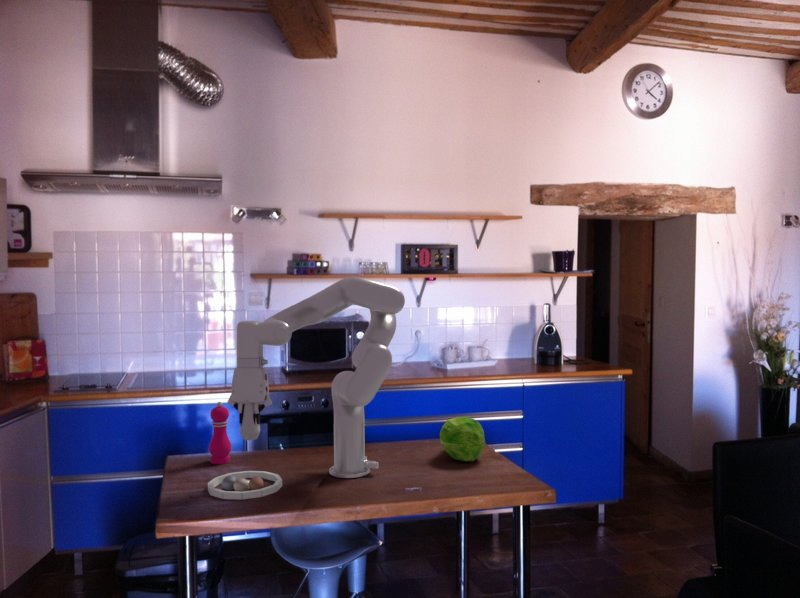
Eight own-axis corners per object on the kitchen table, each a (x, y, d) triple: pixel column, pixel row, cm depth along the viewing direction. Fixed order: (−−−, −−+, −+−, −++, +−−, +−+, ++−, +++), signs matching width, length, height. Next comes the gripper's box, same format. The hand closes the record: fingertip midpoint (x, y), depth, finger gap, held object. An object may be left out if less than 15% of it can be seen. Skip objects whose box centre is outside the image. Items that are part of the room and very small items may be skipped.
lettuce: (428, 457, 228) (470, 461, 231) (444, 459, 207) (490, 464, 209) (432, 415, 231) (473, 419, 234) (447, 413, 210) (492, 417, 212)
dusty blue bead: (236, 492, 183) (237, 478, 186) (235, 486, 180) (236, 473, 183) (222, 493, 183) (223, 479, 185) (221, 487, 180) (221, 473, 182)
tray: (289, 482, 193) (289, 472, 193) (268, 505, 173) (268, 493, 173) (224, 480, 195) (224, 470, 195) (196, 502, 175) (196, 491, 175)
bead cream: (247, 495, 180) (251, 482, 183) (244, 488, 178) (247, 475, 181) (233, 495, 181) (237, 482, 184) (230, 487, 178) (233, 474, 181)
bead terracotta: (262, 494, 181) (267, 480, 184) (256, 488, 178) (261, 474, 181) (251, 492, 183) (256, 479, 185) (244, 487, 180) (249, 473, 182)
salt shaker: (262, 436, 191) (263, 392, 191) (256, 441, 186) (256, 396, 185) (243, 436, 192) (243, 392, 192) (236, 440, 186) (236, 395, 186)
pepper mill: (236, 460, 217) (235, 400, 216) (221, 465, 210) (220, 404, 210) (219, 457, 220) (218, 399, 219) (204, 463, 213) (203, 402, 213)
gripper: (281, 362, 191) (280, 424, 192) (227, 361, 193) (227, 422, 193) (273, 365, 184) (273, 430, 184) (217, 364, 186) (217, 428, 186)
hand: (249, 425), depth 189 cm, fingers closed on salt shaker, 3 cm apart
